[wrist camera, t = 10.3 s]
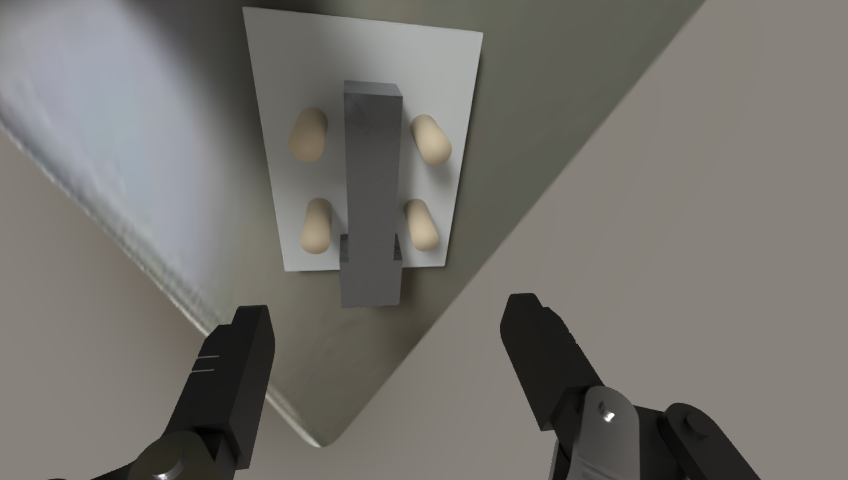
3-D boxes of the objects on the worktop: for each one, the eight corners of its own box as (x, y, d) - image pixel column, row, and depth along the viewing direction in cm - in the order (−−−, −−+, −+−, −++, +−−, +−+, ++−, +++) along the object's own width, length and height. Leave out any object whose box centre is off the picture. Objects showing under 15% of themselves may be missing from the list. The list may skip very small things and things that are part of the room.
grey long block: (333, 79, 18) (330, 91, 16) (406, 84, 19) (415, 97, 17) (342, 278, 26) (341, 308, 24) (394, 276, 27) (399, 305, 24)
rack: (249, 6, 17) (215, 7, 13) (475, 31, 20) (511, 39, 15) (288, 258, 26) (275, 311, 22) (440, 254, 29) (457, 301, 24)
